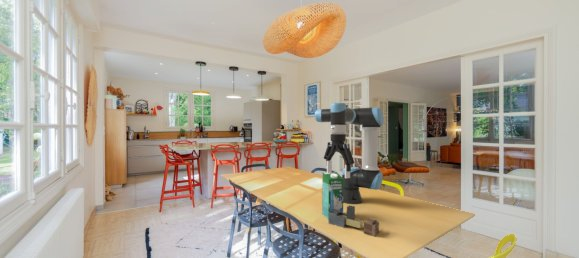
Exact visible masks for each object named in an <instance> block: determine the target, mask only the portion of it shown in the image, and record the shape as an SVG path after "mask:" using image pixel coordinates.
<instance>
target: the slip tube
mask: <svg viewBox="0 0 579 258" xmlns="http://www.w3.org/2000/svg"><path fill="white" fill-rule="evenodd" d="M346 213H347V216H345V215H341V214H338V215H339V216H343V217H345V224H346V225H347V226H350V227H354V228H358V229H361V228H363V227H364V221H363V219H361V218H357V217H355V216H356V215H355V214H356V207H355V206H354V205H347V207H346Z"/></svg>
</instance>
